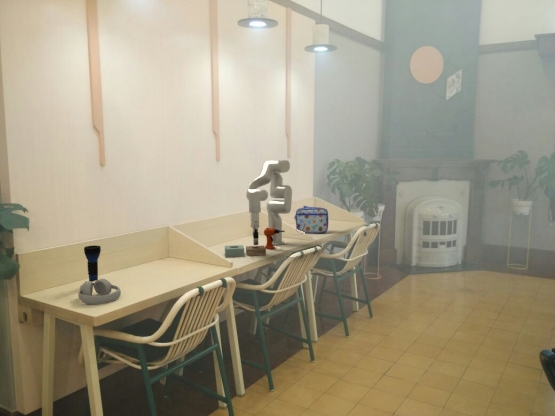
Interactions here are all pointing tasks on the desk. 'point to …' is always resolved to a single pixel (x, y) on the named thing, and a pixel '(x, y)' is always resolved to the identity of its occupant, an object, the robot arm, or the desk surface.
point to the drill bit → (255, 240)
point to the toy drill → (270, 237)
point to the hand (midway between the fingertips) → (255, 237)
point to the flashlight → (92, 261)
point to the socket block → (255, 250)
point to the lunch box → (312, 219)
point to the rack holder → (234, 251)
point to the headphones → (101, 288)
